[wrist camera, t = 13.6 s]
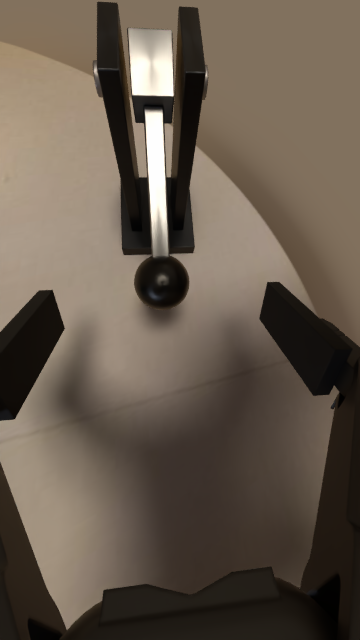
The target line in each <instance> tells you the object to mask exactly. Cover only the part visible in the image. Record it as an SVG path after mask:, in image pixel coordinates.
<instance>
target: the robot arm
mask: <svg viewBox="0 0 360 640" xmlns="http://www.w3.org/2000/svg"><path fill="white" fill-rule="evenodd" d="M259 319H260V321H261V322H262V323H263V325H264V326H265V328H266V329H267V330H268V332H269V333H270V335H271V336H272V338H273V339H274V340H275V342H276V343H277V345H278V346H279V348H280V349H281V350H282V352H283V353H284V355H285V356H286V357H287V359H288V360H289V362H290V363H291V365H292V366H293V367H294V369H295V370H296V372H297V373H298V375H299V376H300V377H301V379H302V380H303V382H304V383H305V384H306V386H307V387H308V389H309V390H310V392H311V393H312V394H313V396H318V395H329V394H330V392H331V390H332V388H333V386H335V387H336V388H337V389H338V391H339V394H338V396H337V397H336V399H335V401H334V403H333V405H332V406H331V409H334V407H335V409H334V416H333V422H332V428H331V434H330V440H329V446H328V452H327V458H326V464H325V470H324V476H323V482H322V488H321V494H320V500H319V507H318V513H317V519H316V525H315V531H314V537H313V543H312V549H311V553H310V557H309V560H308V562H307V565H306V567H305V570H304V573H303V577H302V581H301V586H300V589H299V588H297V587H296V586H294V585H292V584H291V583H289V582H286V581H284V580H282V579H279V578H276V577H274V574H273V570H272V567H265V568H257V569H250V570H243V571H236V572H231V573H230V574H228V575H226V576H224V577H223V578H221V579H219V580H217V581H216V582H214V583H212V584H211V585H209V586H207V587H205V588H204V589H202V590H200V591H198V592H197V593H195V594H192V595H188V594H184V593H180V592H176V591H172V590H168V589H164V588H160V587H156V586H152V585H149V584H143V585H136V586H129V587H121V588H114V589H107V590H104V591H103V599H102V601H101V602H100V603H98V604H96V605H95V606H93V607H92V608H91V609H89V610H88V611H86V612H85V613H84V614H83V615H82V616H81V617H80V618H79V619H77V620H76V621H75V622H74V623H73V624H72V625H71V627H70V628H69V629H68V630H67V629H66V627H65V624H64V622H63V619H62V617H61V614H60V612H59V610H58V608H57V606H56V604H55V602H54V601H53V599H52V597H51V596H50V594H49V592H48V590H47V588H46V585H45V583H44V580H43V577H42V574H41V572H40V569H39V566H38V563H37V561H36V558H35V555H34V553H33V550H32V547H31V544H30V542H29V539H28V536H27V534H26V531H25V528H24V525H23V523H22V520H21V517H20V514H19V512H18V509H17V506H16V504H15V501H14V498H13V495H12V493H11V490H10V487H9V484H8V482H7V479H6V476H5V474H4V471H3V468H2V465H1V463H0V640H360V347H359V346H358V345H356V344H355V343H354V342H353V341H352V340H351V339H349V338H348V337H347V336H345V334H344V333H343V332H341V331H339V329H338V328H337V327H335V326H334V325H333V324H332V323H330V322H328V321H326V320H324V319H320V318H318V317H317V316H316V315H315V314H314V313H313V312H312V311H311V310H310V309H308V308H307V307H306V306H305V305H304V304H303V303H302V302H301V301H300V300H299V299H297V298H296V297H295V296H294V295H293V294H292V293H291V292H290V291H289V290H287V289H286V288H285V287H284V286H283V285H282V284H281V283H280V282H267V287H266V291H265V296H264V300H263V305H262V309H261V314H260V318H259ZM64 329H65V328H64V325H63V321H62V318H61V315H60V312H59V309H58V306H57V303H56V299H55V296H54V293H53V290H42V291H38V292H37V293H36V294H35V295H34V296H33V297H32V299H31V300H30V301H29V302H28V303H27V304H26V305H25V306H24V307H23V308H22V309H21V310H20V311H19V313H18V314H17V315H16V316H15V317H14V318H13V319H12V320H11V321H10V322H9V323H8V324H7V325H6V326H5V328H4V329H3V330H2V331H1V332H0V421H1V420H13V419H15V418H16V416H17V414H18V412H19V411H20V409H21V407H22V405H23V403H24V402H25V400H26V398H27V396H28V394H29V392H30V391H31V389H32V387H33V385H34V383H35V382H36V380H37V378H38V376H39V374H40V373H41V371H42V369H43V367H44V365H45V363H46V362H47V360H48V358H49V356H50V354H51V353H52V351H53V349H54V347H55V345H56V343H57V342H58V340H59V338H60V336H61V334H62V333H63V331H64Z"/></svg>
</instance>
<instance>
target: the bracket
mask: <svg viewBox="0 0 360 640" xmlns="http://www.w3.org/2000/svg"><path fill="white" fill-rule="evenodd" d="M178 12H179V13H178V34H177V55H176V80H175V101H174V123H173V146H172V169H171V177H166V181H167V205H168V230H169V253H193V251H194V247H195V245H194V234H193V223H192V212H191V201H190V190H189V187H190V180H191V173H192V166H193V159H194V152H195V145H196V138H197V132H198V125H199V117H200V111H201V104H202V100H205V97H206V93H207V86H208V67H207V65H205V62H204V53H203V45H202V37H201V30H200V21H199V13H198V8H194V7H179V11H178ZM93 73H94V80H95V86H96V90H97V93H98V96H99V97H103V100H104V105H105V109H106V114H107V118H108V123H109V128H110V132H111V137H112V141H113V146H114V151H115V155H116V160H117V164H118V169H119V173H120V178H121V226H122V250H123V253H124V255H131V254H152V248H151V231H150V214H149V197H148V179H147V178H139V174H138V166H137V158H136V149H135V141H134V133H133V125H132V116H131V108H130V100H129V92H128V84H127V76H126V68H125V59H124V51H123V43H122V35H121V26H120V18H119V10H118V4H117V3H111V2H110V3H109V2H97V60H94V61H93Z"/></svg>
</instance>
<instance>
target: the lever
mask: <svg viewBox="0 0 360 640" xmlns="http://www.w3.org/2000/svg"><path fill="white" fill-rule="evenodd" d="M127 34H128V48H129V64H130V79H131V94H132V101H133V108H134V115H135V122H136V123H144V127H145V145H146V162H147V179H148V197H149V214H150V231H151V248H152V256H151V257H149V258H147V259H146V260H144V261H143V262H142V263H141V264H140V266H139V267H138V269H137V271H136V274H135V278H134V286H135V290H136V293H137V295H138V297H139V298H140V300H141V301H142V302H143V303H144V304H146V305H147V306H149V307H151V308H153V309H156V310H167V309H171V308H174V307H175V306H177V305H178V304H180V303H181V302H182V301H183V300H184V298H185V297H186V295H187V293H188V289H189V276H188V273H187V270H186V268H185V267H184V266H183V264H182V263H181V262H180V261H179V260H177V259H176V258H174V257H172V256H170V254H169V230H168V205H167V181H166V157H165V132H164V123H172V114H173V105H174V72H173V38H172V30H164V29H145V28H127Z"/></svg>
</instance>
